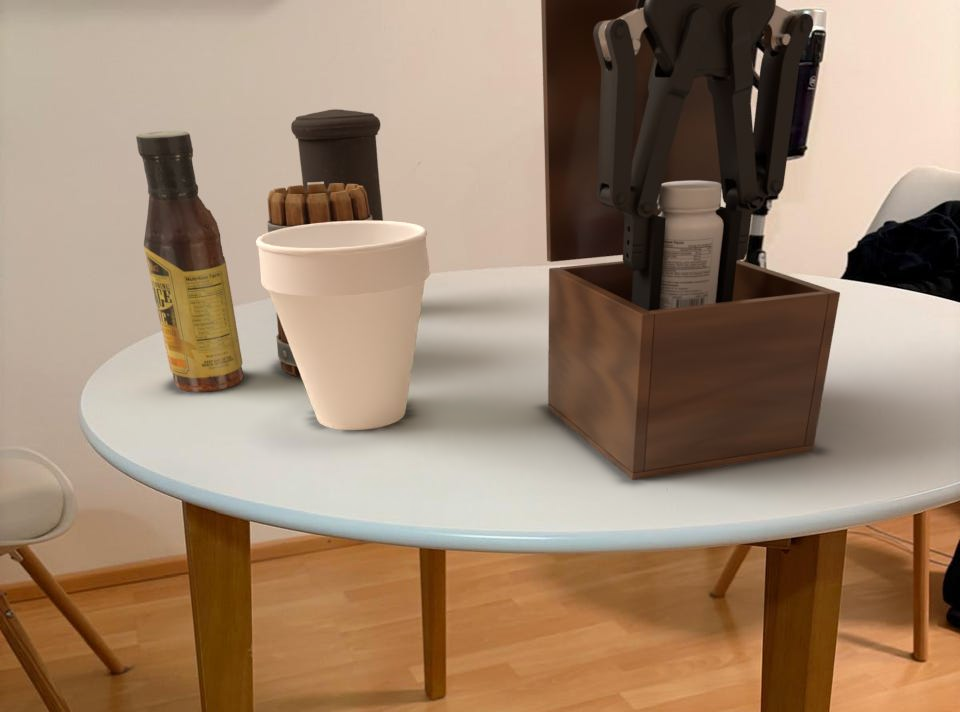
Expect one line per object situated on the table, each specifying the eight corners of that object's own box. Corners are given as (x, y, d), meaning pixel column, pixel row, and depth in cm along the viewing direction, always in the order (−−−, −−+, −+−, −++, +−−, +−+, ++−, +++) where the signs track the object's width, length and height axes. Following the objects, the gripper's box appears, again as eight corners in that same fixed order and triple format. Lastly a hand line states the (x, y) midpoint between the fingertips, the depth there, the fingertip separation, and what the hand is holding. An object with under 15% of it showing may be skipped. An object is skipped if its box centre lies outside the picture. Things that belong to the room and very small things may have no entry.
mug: (398, 378, 81) (383, 192, 73) (279, 388, 80) (250, 200, 72) (385, 335, 94) (371, 173, 86) (282, 342, 93) (258, 179, 85)
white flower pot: (263, 412, 74) (233, 232, 67) (399, 385, 79) (384, 214, 72) (316, 459, 65) (288, 256, 58) (466, 425, 70) (458, 234, 63)
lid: (734, -20, 61) (727, -18, 62) (545, -16, 58) (540, -14, 59) (718, 245, 69) (713, 245, 70) (550, 261, 66) (546, 261, 67)
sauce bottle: (174, 380, 83) (121, 131, 72) (244, 372, 84) (201, 127, 74) (174, 401, 78) (117, 137, 67) (249, 392, 79) (204, 132, 68)
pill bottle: (662, 307, 66) (673, 178, 61) (724, 315, 64) (740, 181, 59) (632, 322, 63) (640, 186, 58) (696, 330, 60) (710, 190, 56)
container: (316, 308, 105) (292, 109, 95) (394, 304, 106) (378, 105, 95) (313, 327, 98) (286, 113, 87) (396, 322, 99) (379, 109, 88)
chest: (812, 455, 63) (840, 292, 57) (632, 484, 60) (642, 314, 54) (701, 391, 75) (715, 251, 70) (547, 412, 72) (548, 268, 66)
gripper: (816, -108, 55) (764, 292, 68) (542, -110, 51) (540, 316, 64) (898, -130, 49) (824, 313, 62) (595, -134, 45) (582, 342, 58)
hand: (680, 314), depth 63 cm, fingers closed on pill bottle, 5 cm apart
